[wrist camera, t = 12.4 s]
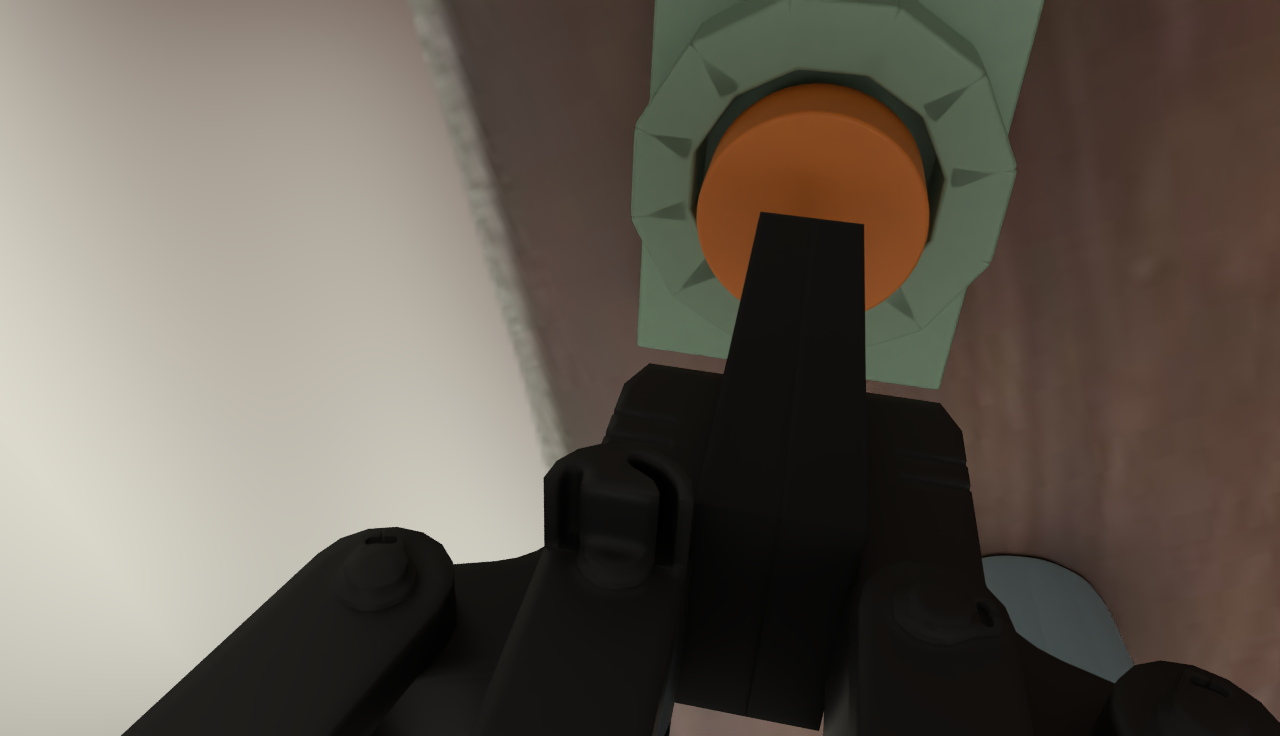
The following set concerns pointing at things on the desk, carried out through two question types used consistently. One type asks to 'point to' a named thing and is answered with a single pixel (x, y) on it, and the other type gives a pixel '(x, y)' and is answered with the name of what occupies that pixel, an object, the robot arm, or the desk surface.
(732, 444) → the robot arm
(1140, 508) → the desk surface
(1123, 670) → the cup
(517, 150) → the desk surface
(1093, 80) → the desk surface
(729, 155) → the button
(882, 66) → the button block
